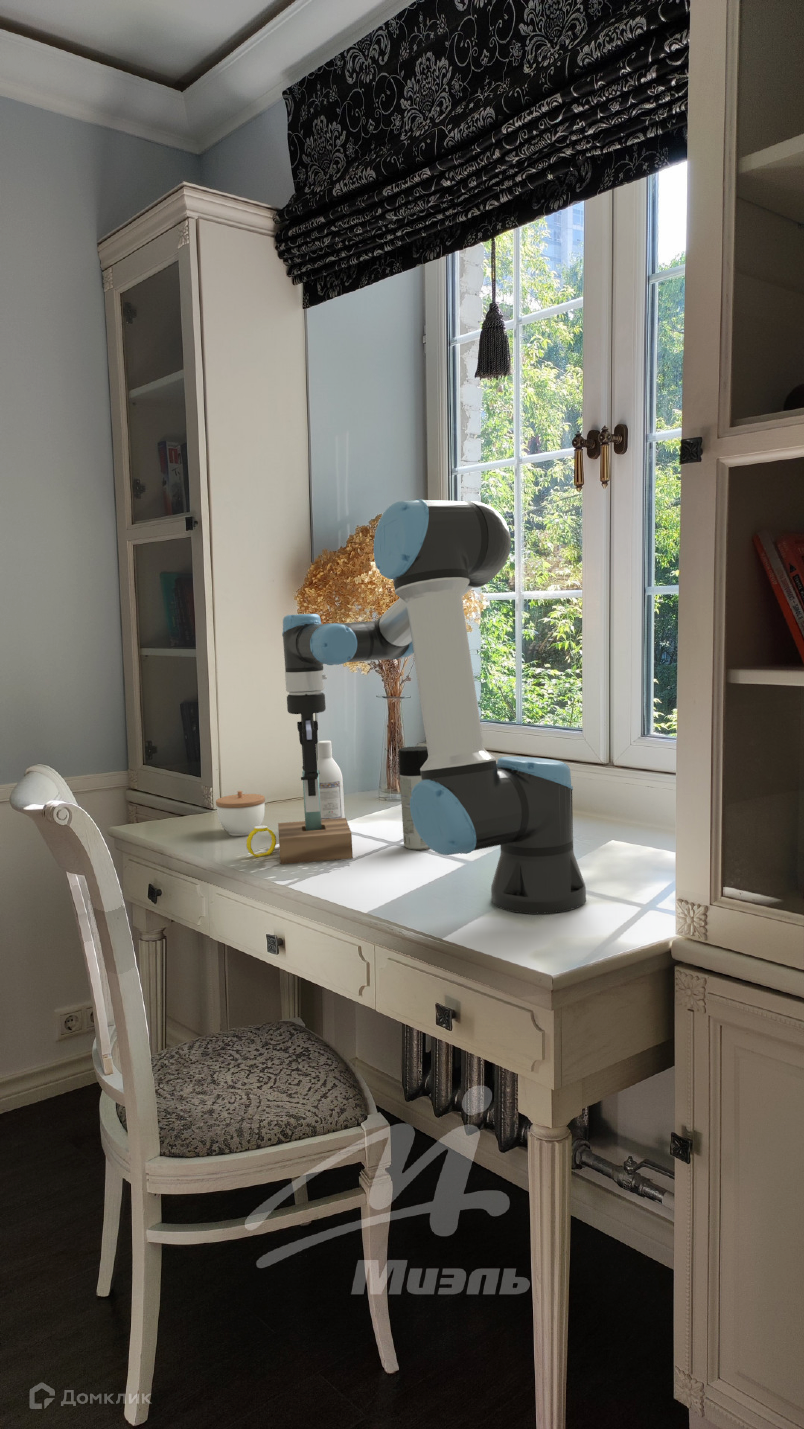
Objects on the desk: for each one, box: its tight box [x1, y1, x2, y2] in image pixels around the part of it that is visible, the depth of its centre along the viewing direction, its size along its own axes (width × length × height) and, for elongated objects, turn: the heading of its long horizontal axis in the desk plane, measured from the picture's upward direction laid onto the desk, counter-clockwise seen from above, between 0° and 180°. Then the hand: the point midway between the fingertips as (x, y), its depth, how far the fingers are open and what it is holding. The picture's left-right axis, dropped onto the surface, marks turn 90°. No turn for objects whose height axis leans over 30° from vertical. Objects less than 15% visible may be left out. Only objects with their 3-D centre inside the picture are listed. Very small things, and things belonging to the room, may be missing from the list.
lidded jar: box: [215, 790, 266, 837], centre depth 214 cm, size 11×11×9 cm
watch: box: [246, 825, 277, 858], centre depth 194 cm, size 6×3×6 cm, turn 125°
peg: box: [301, 770, 322, 831], centre depth 193 cm, size 3×3×12 cm
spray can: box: [398, 745, 431, 851], centre depth 194 cm, size 7×7×20 cm
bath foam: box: [317, 740, 346, 820], centre depth 210 cm, size 7×7×20 cm
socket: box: [277, 817, 354, 865], centre depth 194 cm, size 14×14×5 cm
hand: (312, 809), depth 193 cm, fingers closed on peg, 3 cm apart
